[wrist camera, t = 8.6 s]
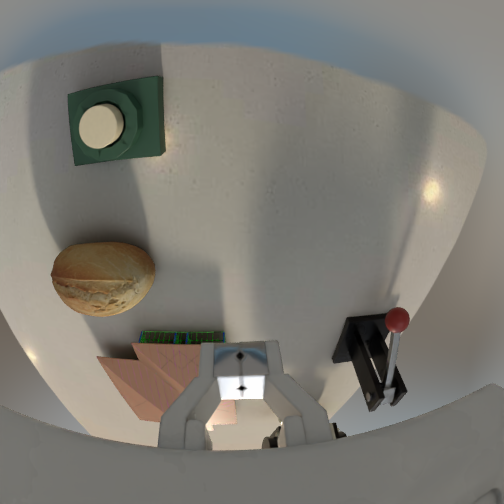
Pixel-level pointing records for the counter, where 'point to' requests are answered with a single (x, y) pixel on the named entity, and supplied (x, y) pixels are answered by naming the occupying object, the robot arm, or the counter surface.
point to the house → (161, 378)
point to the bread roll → (102, 277)
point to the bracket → (368, 356)
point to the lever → (393, 349)
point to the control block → (134, 115)
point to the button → (101, 125)
